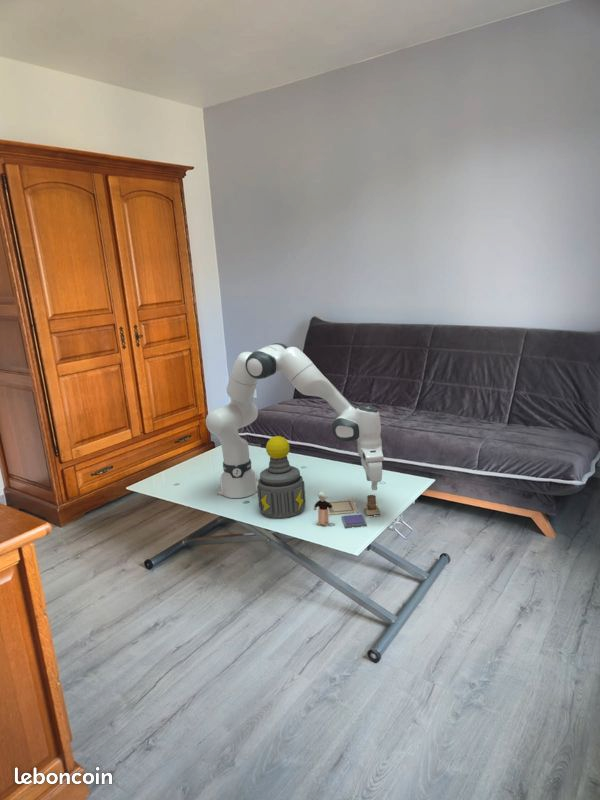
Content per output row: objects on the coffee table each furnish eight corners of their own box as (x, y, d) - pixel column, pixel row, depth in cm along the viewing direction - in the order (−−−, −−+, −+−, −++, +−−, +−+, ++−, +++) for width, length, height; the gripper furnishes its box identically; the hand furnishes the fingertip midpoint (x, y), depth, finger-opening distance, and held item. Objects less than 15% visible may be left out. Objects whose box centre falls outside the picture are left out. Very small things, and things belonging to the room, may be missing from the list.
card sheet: (323, 502, 216) (323, 501, 216) (352, 499, 217) (352, 498, 217) (326, 515, 205) (326, 514, 205) (358, 512, 205) (358, 511, 205)
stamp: (364, 511, 206) (363, 494, 204) (377, 510, 206) (376, 493, 205) (366, 517, 201) (366, 499, 200) (380, 515, 202) (379, 498, 200)
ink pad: (341, 518, 201) (341, 515, 201) (362, 516, 202) (362, 513, 201) (344, 528, 193) (344, 525, 193) (366, 526, 194) (366, 522, 194)
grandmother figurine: (313, 526, 196) (311, 494, 194) (314, 521, 200) (312, 489, 197) (334, 526, 195) (332, 494, 192) (335, 522, 199) (333, 489, 196)
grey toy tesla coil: (280, 495, 226) (275, 427, 219) (316, 505, 214) (311, 433, 207) (249, 512, 212) (242, 439, 205) (285, 524, 200) (278, 447, 193)
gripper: (356, 442, 208) (358, 476, 211) (366, 459, 188) (368, 496, 191) (372, 440, 208) (374, 474, 211) (384, 457, 188) (386, 494, 191)
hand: (371, 484), depth 201 cm, fingers open, 8 cm apart
